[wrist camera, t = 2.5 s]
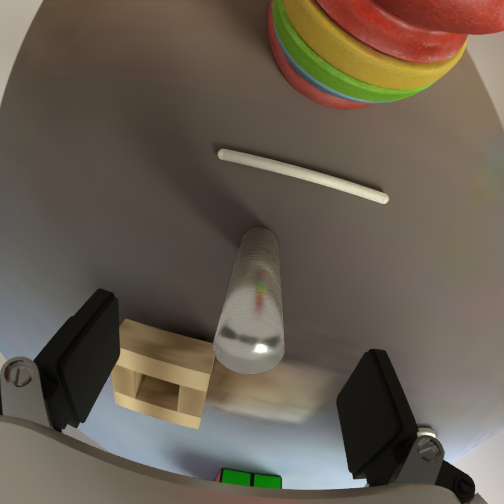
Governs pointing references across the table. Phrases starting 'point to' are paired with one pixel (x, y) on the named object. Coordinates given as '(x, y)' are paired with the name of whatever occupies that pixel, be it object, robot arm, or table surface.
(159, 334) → the square wooden frame
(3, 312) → the table surface
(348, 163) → the table surface
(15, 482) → the robot arm
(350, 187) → the lace cord
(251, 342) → the frosted glass tube
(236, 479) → the puzzle cube
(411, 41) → the stacking bear
